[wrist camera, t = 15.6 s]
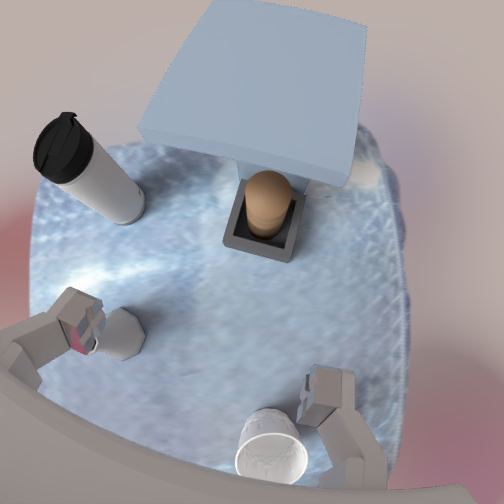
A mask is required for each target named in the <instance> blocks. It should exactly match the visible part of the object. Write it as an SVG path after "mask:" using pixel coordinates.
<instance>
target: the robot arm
mask: <svg viewBox="0 0 504 504" xmlns="http://www.w3.org/2000/svg"><path fill="white" fill-rule="evenodd" d="M102 307H103V303H102V300H100V299H98V298H96V297H93V296H91V295H89V294H86V293H84V292H82V291H80V290H77V289H75V288H72V287H69V288H67V289H66V290H65V291H64V292H63V293H62V294H61V296H60V297H59V298H58V299H57V300H56V301H55V303H54V304H53V305H52V306H51V308H50V309H49V310H48V311H47V312H46V313H45V312H42V313H40V314H37V315H35V316H33V317H30V318H28V319H26V320H23V321H21V322H19V323H16V324H14V325H12V326H10V327H7V328H5V329H2V330H0V504H477V503H476V501H475V500H474V498H473V496H472V495H471V494H470V492H469V491H468V490H467V488H466V487H465V486H464V485H462V484H451V485H443V486H435V487H426V488H414V489H399V490H387V457H386V455H385V454H384V452H383V450H382V449H381V447H380V445H379V444H378V442H377V440H376V439H375V437H374V436H373V434H372V432H371V431H370V429H369V427H368V426H367V424H366V422H365V421H364V419H363V418H362V416H361V414H360V413H359V411H355V374H354V372H353V371H348V370H342V369H340V368H334V367H329V366H323V365H318V364H314V365H313V366H312V367H311V369H310V374H308V375H306V377H305V378H304V380H303V383H302V386H301V390H300V396H299V398H300V400H301V402H302V403H301V404H300V406H299V407H298V411H297V419H296V423H297V424H302V425H307V426H312V427H318V428H317V430H318V432H319V434H320V437H321V439H322V441H323V444H324V446H325V448H326V450H327V453H328V455H329V457H330V460H331V462H332V464H333V466H334V467H333V468H331V469H329V470H328V471H326V472H324V473H323V474H321V475H320V479H319V486H318V488H317V487H307V486H298V485H291V484H284V483H277V482H271V481H265V480H260V479H255V478H250V477H245V476H240V475H236V474H232V473H227V472H223V471H219V470H216V469H212V468H208V467H205V466H201V465H198V464H194V463H191V462H188V461H185V460H182V459H178V458H175V457H172V456H170V455H167V454H164V453H161V452H158V451H156V450H153V449H150V448H148V447H145V446H143V445H140V444H138V443H135V442H133V441H130V440H128V439H126V438H123V437H121V436H119V435H117V434H114V433H112V432H110V431H108V430H106V429H104V428H101V427H99V426H97V425H95V424H93V423H91V422H89V421H87V420H85V419H84V418H82V417H80V416H78V415H76V414H74V413H72V412H70V411H69V410H67V409H65V408H63V407H62V406H60V405H58V404H56V403H55V402H53V401H51V400H50V399H48V398H46V397H45V396H43V395H42V394H40V393H38V392H37V390H38V388H39V386H40V385H41V383H42V378H41V376H40V375H39V373H38V372H37V369H39V368H40V367H42V366H44V365H45V364H47V363H49V362H50V361H52V360H54V359H55V358H57V357H59V356H60V355H62V354H64V353H65V352H67V351H68V350H70V348H71V349H73V350H75V351H77V352H80V353H82V354H84V355H86V356H87V355H88V354H89V352H90V350H91V349H92V347H93V346H94V344H95V341H94V338H96V337H98V336H100V335H101V333H102V332H103V330H104V327H105V324H106V316H105V313H104V312H103V310H102Z"/></svg>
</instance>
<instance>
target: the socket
mask: <svg viewBox="0 0 504 504" xmlns="http://www.w3.org/2000/svg"><path fill="white" fill-rule="evenodd" d="M248 181H249V180H246V179H242V178H241V181H240V185H239V188H238V191H237V194H236V198H235V201H234V204H233V207H232V211H231V214H230V217H229V221H228V224H227V227H226V230H225V234H224V237H223V243H224V245H225V247H229V248H233V249H236V250H240V251H244V252H248V253H251V254H255V255H259V256H262V257H266V258H270V259H273V260H277V261H281V262H285V263H288V262H289V260H290V259H291V255H292V251H293V247H294V243H295V239H296V235H297V231H298V227H299V223H300V218H301V214H302V210H303V206H304V202H305V198H306V195H303V194H300V193H296V192H292V198H291V201H290V204H289V207H288V210H287V212H286V215H285V218H284V221H283V224H282V227H281V229H280V232H279V233H278V234H277V235H276V236H275V237H274V238H272V239H269V240H260V239H258V238H256V237H254V236H253V235H252V234H251V233H250V231H249V229H248V223H247V210H246V197H245V188H246V184H247V182H248Z"/></svg>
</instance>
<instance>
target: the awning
mask: <svg viewBox="0 0 504 504" xmlns="http://www.w3.org/2000/svg"><path fill="white" fill-rule="evenodd" d="M366 38H367V26H365V25H362V24H359V23H356V22H353V21H349V20H346V19H342V18H339V17H335V16H331V15H328V14H324V13H320V12H315V11H311V10H306V9H302V8H297V7H292V6H287V5H281V4H275V3H268V2H262V1H254V0H213V1H212V3H211V4H210V6H209V7H208V8H207V10H206V11H205V12H204V14H203V15H202V17H201V18H200V20H199V21H198V22H197V24H196V25H195V27H194V28H193V30H192V32H191V33H190V34H189V36H188V38H187V39H186V41H185V42H184V44H183V45H182V47H181V48H180V50H179V52H178V54H177V55H176V57H175V58H174V60H173V62H172V63H171V65H170V67H169V68H168V70H167V72H166V73H165V75H164V77H163V79H162V81H161V82H160V84H159V86H158V88H157V90H156V91H155V93H154V95H153V97H152V99H151V101H150V103H149V105H148V107H147V109H146V111H145V113H144V114H143V117H142V118H141V121H140V123H139V125H138V127H137V129H138V130H139V132H140V133H141V135H142V136H143V138H144V140H145V141H146V142H147V143H153V144H159V145H165V146H170V147H176V148H181V149H186V150H191V151H196V152H201V153H206V154H211V155H216V156H220V157H225V158H229V159H234V160H237V166H238V174H239V181H241V178H242V179H246V180H249V179H250V178H251V177H252V176H253V175H254V174H256V173H258V172H261V171H265V170H270V171H276V172H278V173H280V174H282V175H283V176H285V177H286V178H287V180H288V181H289V183H290V185H291V188H292V192H296V193H300V194H303V193H304V191H305V188H306V186H307V184H308V182H309V179H312V180H316V181H319V182H323V183H326V184H330V185H333V186H336V187H340V188H342V186H343V185H344V183H345V182H346V181H347V179H348V178H349V176H350V173H351V167H352V161H353V155H354V148H355V141H356V134H357V127H358V119H359V112H360V103H361V95H362V85H363V75H364V64H365V52H366Z"/></svg>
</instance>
